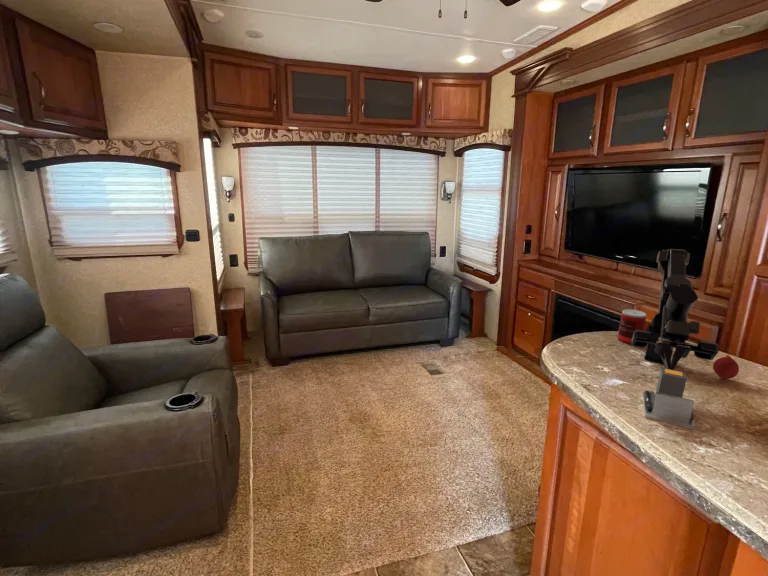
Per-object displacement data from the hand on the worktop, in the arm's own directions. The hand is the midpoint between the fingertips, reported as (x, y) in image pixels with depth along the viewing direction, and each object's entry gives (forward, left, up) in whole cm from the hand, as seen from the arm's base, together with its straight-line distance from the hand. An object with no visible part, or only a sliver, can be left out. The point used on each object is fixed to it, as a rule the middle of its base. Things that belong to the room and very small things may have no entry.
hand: (670, 373), depth 105 cm
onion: (+12, +25, -8) cm, 29 cm away
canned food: (-15, +40, -8) cm, 44 cm away
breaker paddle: (+1, -4, -6) cm, 8 cm away
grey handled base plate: (+1, -6, -8) cm, 10 cm away
